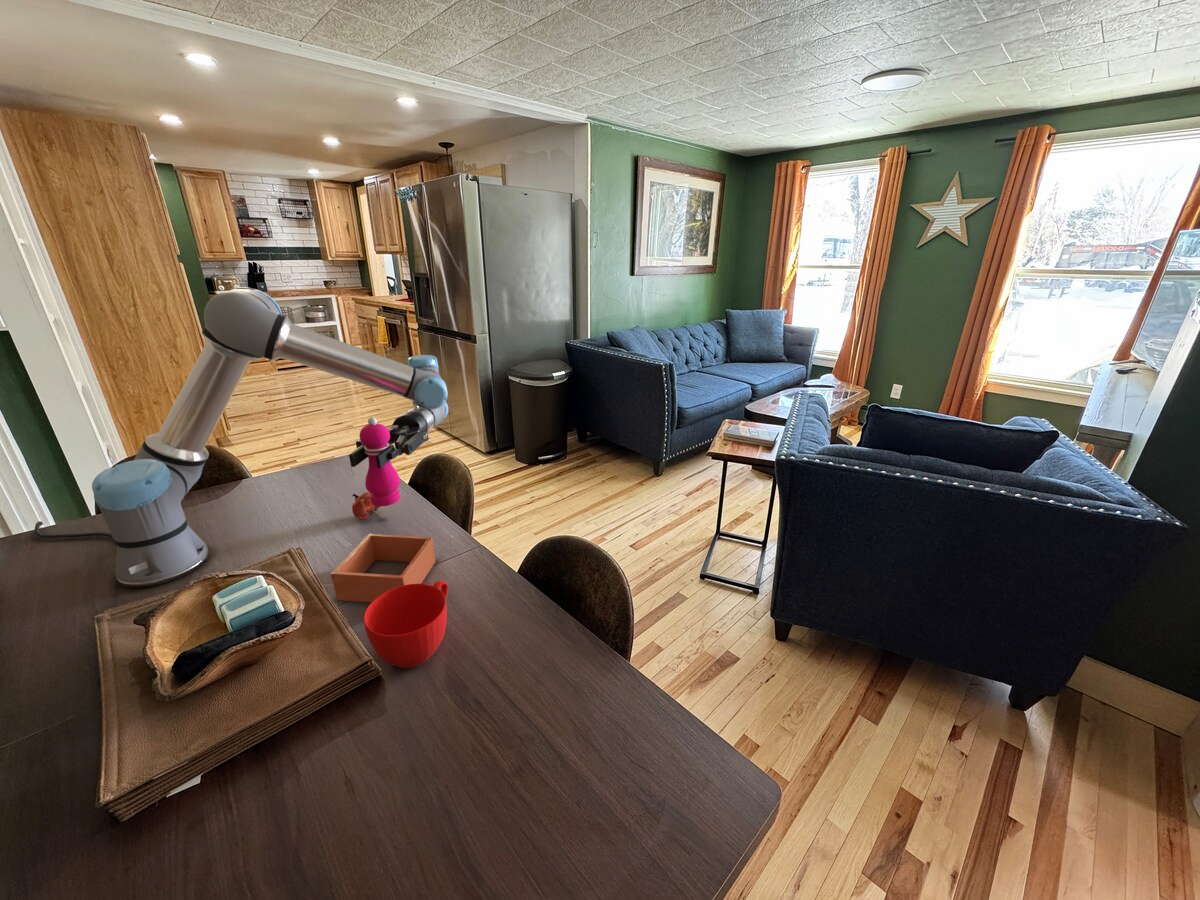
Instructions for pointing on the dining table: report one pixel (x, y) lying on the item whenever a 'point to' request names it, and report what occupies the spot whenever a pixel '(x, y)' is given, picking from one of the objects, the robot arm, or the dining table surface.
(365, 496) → the pomegranate
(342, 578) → the open wooden tray
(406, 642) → the ceramic cup
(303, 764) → the dining table surface
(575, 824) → the dining table surface
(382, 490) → the pepper mill
